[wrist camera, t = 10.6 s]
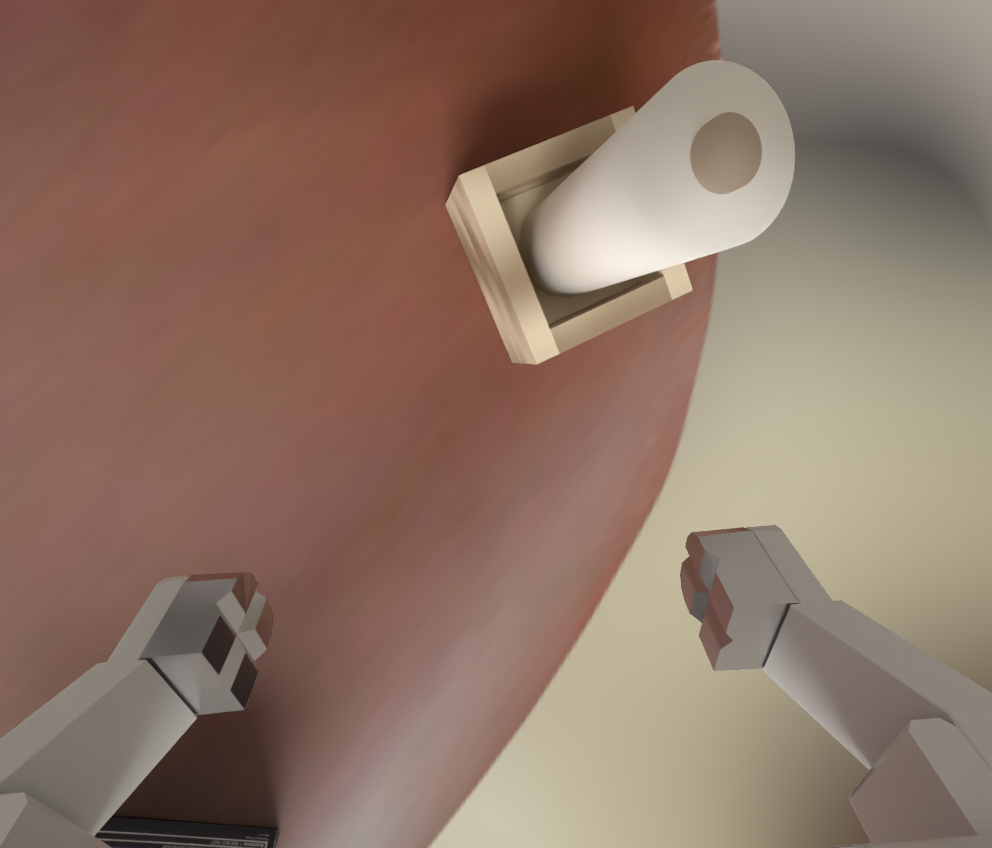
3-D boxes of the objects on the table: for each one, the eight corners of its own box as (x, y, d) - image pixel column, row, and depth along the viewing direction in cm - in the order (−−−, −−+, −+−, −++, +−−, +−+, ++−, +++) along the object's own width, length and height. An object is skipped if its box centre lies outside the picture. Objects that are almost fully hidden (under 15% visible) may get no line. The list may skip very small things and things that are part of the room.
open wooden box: (445, 205, 26) (458, 175, 21) (592, 145, 27) (633, 105, 23) (512, 362, 28) (536, 364, 23) (645, 299, 29) (692, 290, 25)
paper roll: (503, 218, 25) (623, 87, 13) (589, 182, 25) (777, 26, 13) (542, 312, 26) (685, 273, 14) (622, 274, 26) (825, 207, 14)
